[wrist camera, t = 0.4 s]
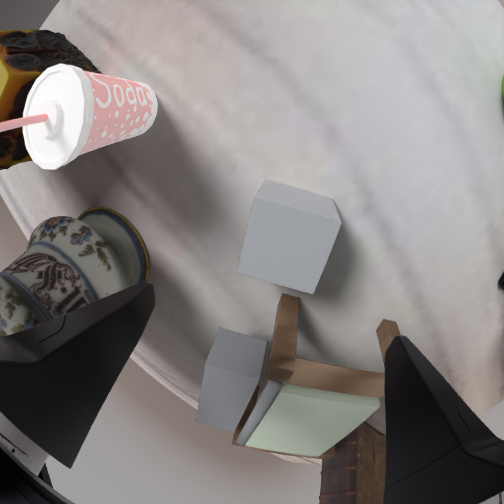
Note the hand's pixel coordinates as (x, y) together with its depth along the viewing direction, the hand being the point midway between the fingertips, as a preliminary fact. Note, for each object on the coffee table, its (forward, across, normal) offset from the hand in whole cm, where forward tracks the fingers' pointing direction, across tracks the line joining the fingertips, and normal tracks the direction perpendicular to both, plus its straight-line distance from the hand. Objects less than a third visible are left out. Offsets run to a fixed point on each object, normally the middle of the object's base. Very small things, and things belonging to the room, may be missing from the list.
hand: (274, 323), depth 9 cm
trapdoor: (+9, -2, +16) cm, 18 cm away
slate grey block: (+12, 0, +1) cm, 12 cm away
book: (+12, -19, +31) cm, 38 cm away
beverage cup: (+12, +14, -6) cm, 19 cm away
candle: (+12, +24, -9) cm, 29 cm away
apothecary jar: (+12, +17, +7) cm, 22 cm away
